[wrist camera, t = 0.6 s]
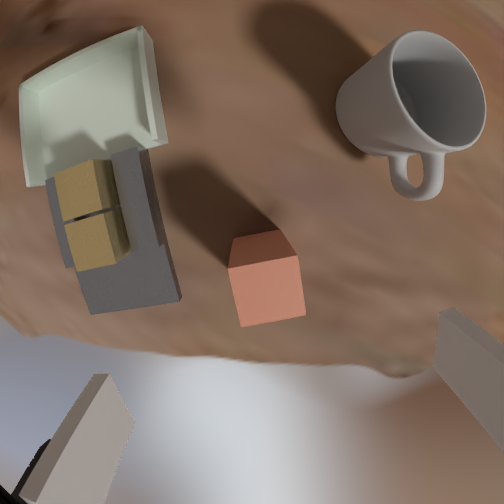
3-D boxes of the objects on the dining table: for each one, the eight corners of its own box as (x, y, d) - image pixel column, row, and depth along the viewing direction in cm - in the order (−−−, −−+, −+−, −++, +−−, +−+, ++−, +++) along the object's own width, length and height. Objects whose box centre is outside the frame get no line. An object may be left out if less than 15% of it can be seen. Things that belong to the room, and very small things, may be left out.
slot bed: (60, 179, 25) (45, 180, 22) (147, 149, 24) (137, 146, 22) (95, 309, 28) (84, 321, 25) (182, 296, 28) (176, 308, 25)
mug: (329, 69, 23) (374, 16, 12) (407, 78, 23) (474, 45, 12) (341, 195, 26) (399, 209, 15) (418, 193, 26) (494, 207, 15)
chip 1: (77, 173, 23) (53, 174, 19) (113, 160, 23) (92, 158, 19) (86, 214, 24) (63, 221, 20) (122, 204, 24) (102, 209, 20)
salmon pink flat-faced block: (233, 238, 26) (227, 268, 18) (279, 229, 26) (297, 255, 18) (242, 280, 27) (241, 327, 19) (287, 271, 27) (306, 314, 19)
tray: (37, 90, 22) (19, 85, 19) (152, 40, 22) (142, 25, 18) (46, 184, 25) (26, 187, 21) (168, 143, 24) (157, 138, 21)
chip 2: (86, 218, 24) (64, 225, 21) (122, 207, 24) (103, 213, 20) (97, 259, 25) (77, 272, 22) (133, 251, 25) (116, 263, 21)
